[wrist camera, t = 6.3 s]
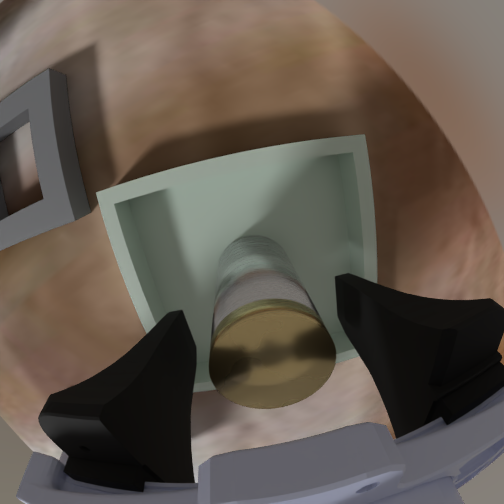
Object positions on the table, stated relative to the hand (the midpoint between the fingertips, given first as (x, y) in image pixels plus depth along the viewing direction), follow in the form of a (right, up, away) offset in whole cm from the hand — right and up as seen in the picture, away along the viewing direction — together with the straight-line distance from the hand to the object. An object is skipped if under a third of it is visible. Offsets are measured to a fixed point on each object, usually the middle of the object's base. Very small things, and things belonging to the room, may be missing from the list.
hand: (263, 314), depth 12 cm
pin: (0, +2, +4) cm, 4 cm away
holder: (-15, +8, +1) cm, 17 cm away
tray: (0, +2, +5) cm, 5 cm away
